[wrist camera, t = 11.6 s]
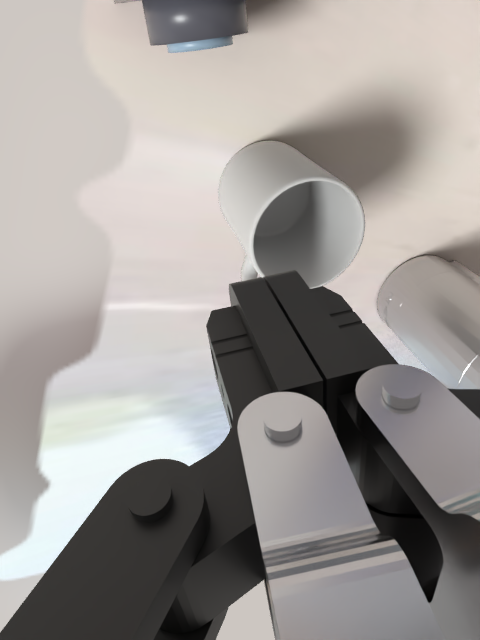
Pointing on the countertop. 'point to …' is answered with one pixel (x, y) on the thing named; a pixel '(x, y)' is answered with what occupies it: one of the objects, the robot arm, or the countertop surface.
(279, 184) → the mug
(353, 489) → the robot arm
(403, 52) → the countertop surface
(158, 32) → the camera box
